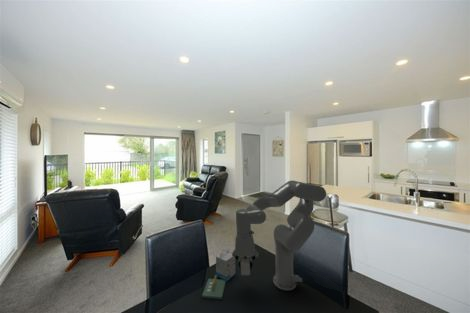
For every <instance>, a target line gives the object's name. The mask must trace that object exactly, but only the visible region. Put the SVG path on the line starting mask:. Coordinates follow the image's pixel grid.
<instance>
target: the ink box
mask: <svg viewBox="0 0 470 313" xmlns="http://www.w3.org/2000/svg"><path fill="white" fill-rule="evenodd" d="M232 253H233V252H230V250H229V249H226V250H224V251H222V252H220V253H219V254H217V255H215V275H216V277H217V278H218V279H219V278H220V280H226V282H228V281H229V280H230V279H231V278H232V277H233V276H235V274H236V258H235V257H233V256H232Z"/></svg>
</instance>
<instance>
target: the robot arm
mask: <svg viewBox="0 0 470 313" xmlns="http://www.w3.org/2000/svg"><path fill="white" fill-rule="evenodd" d="M326 196H327V191H326V189H325V187H323V186H321V185H317V184H312V183H306V182H302V181H296V180H288V181H287V182H285V183H284V184H282V185H281V186H279V188H277V189H276V190H275V191H273V192H271V193H269V194H266V195H264V196H262V197H261V196H260V197H259V198H258V199H256V200H254V201H253V202H252V203H250V204H249V205H248V206H247V208H240V209H237V210H236V212H235V221H236V222H235V224H236V235H235V240H234V241H235V244H234V249H233V251H232V252H231V253H232V256H233V257H235V260H236V261H237V262H238V266H239V270H240V271H241V257H249V258H250V271H252V268H253V266H254V264H253V262H254V261H255V260H256V258H258V257H259V256H260V254H259V251H258V250H257V249H256V248H255V239H254V236H253V235H254V234H255V232H254V231H253V230H252V226H251V225H260V224H263V223H265V222H266V219H267V215H266V213H265V211H264V210H266V209H268V208H281V207H282V206H283V205H285V204H286V203H287V202H289V201H291V200H292V199H293V198H294V197H295V198H298V199H299V202H298V203H297V204H296V206H295V207H294V208H293V209H292V211H291V212H290V213H289V214H288V216H287V219H286V222H287V224H288V225H289V226H290V227H289V226H288V225H285V224H277V225H276V226H275V227H274V229H273V240H274V247H275V248H274V250H275V251H274V252H275V256H274V257H275V274H274V275H273V277H272V281H273V282H272V283H273V284H274V286H275V287H276V288H278V289H280V290H282V291H287V292H288V291H293V290H295V289H296V287H297V282H298V283H303V278H302V277H300V276H299V275H297V274H294V252H298V251H300V249H301V248H302V247H303V246H304V245H305V244H306V242H307V241H308V239H310V237H311V236H312V234H313V232H314V231H315V222H314V220H313V218H312V217H310V215H312V213H313V211H314V202H322V201H324V200H325V199H326ZM292 228H293V229H292Z"/></svg>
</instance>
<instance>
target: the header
mask: <svg viewBox="0 0 470 313" xmlns="http://www.w3.org/2000/svg"><path fill="white" fill-rule="evenodd" d="M226 282H227V281H226V280H223V279H221V278H220V279H219V278H218V277H217V276H216V274H215V275H214V278H208V279H207V282H206V283H205V287H204V289H203V292H202V293H201V294H202V295H201V298H203V299H212V300H223V295H224V290H225V286H226Z"/></svg>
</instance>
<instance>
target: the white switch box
mask: <svg viewBox="0 0 470 313" xmlns="http://www.w3.org/2000/svg"><path fill="white" fill-rule="evenodd" d="M240 276H251V270H250V258H249V257H241V270H240Z"/></svg>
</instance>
